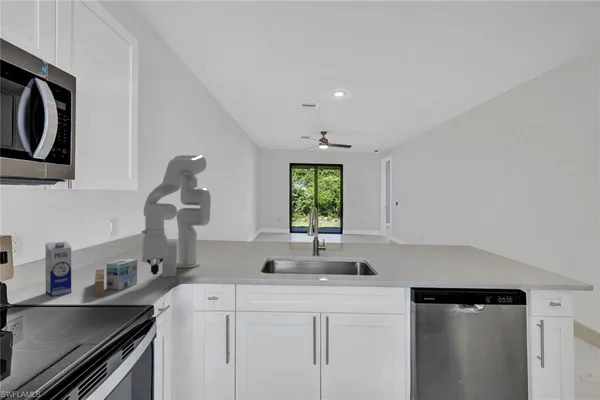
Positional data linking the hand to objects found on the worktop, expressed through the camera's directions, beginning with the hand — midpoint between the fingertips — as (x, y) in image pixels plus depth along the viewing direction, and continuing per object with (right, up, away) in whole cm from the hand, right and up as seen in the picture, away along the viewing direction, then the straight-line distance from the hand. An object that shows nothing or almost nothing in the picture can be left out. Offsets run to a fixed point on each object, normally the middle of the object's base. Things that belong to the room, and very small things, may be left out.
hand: (154, 273), depth 149 cm
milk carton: (-31, -4, -16) cm, 35 cm away
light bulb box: (-12, -4, -5) cm, 13 cm away
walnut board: (-18, -4, -11) cm, 21 cm away
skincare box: (+1, -4, +14) cm, 15 cm away
